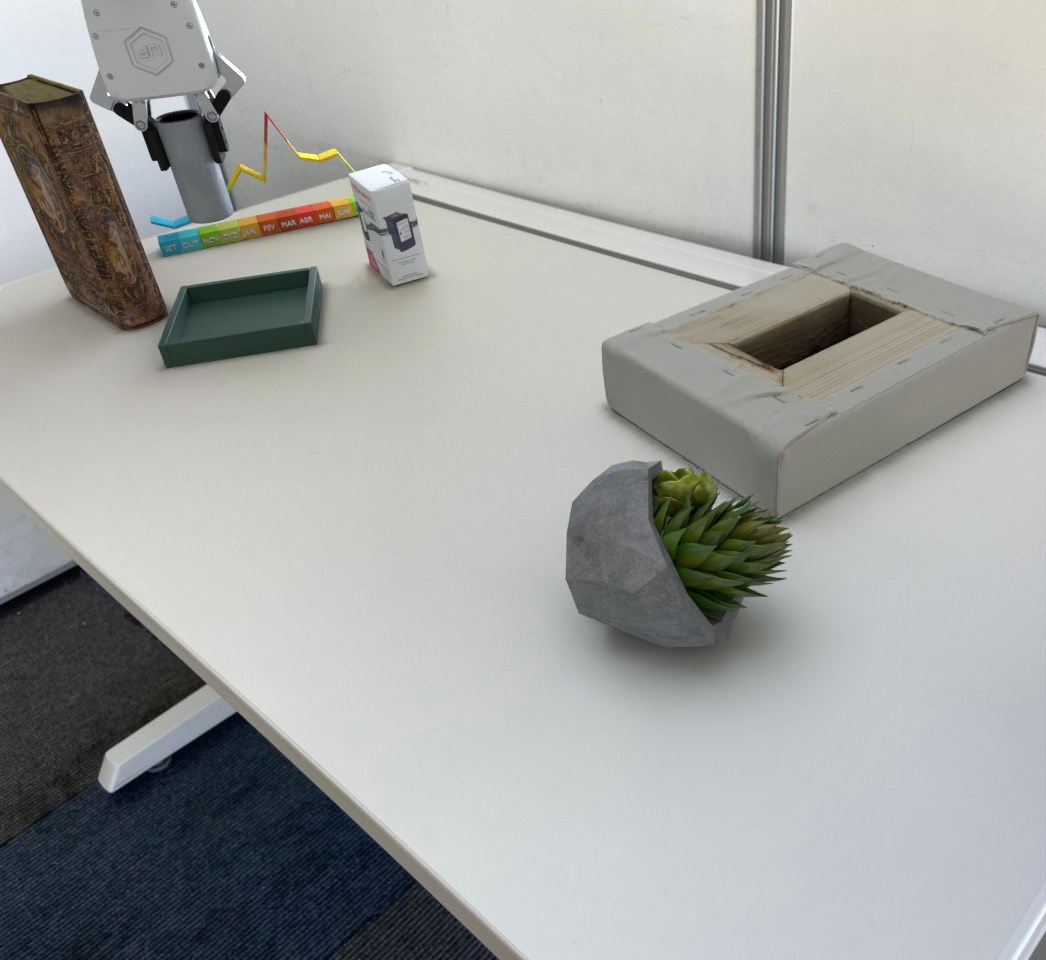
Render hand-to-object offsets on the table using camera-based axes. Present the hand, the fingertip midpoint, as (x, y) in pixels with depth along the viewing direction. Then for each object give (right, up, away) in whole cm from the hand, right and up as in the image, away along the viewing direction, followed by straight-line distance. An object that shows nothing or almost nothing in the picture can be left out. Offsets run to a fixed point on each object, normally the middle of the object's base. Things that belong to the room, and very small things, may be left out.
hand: (193, 161), depth 99 cm
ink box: (+16, -7, +21) cm, 27 cm away
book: (-17, -12, +18) cm, 27 cm away
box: (+62, -25, -9) cm, 67 cm away
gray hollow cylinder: (0, -5, +3) cm, 6 cm away
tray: (+1, -15, +11) cm, 18 cm away
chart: (-4, +2, +35) cm, 36 cm away
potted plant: (+48, -42, -31) cm, 71 cm away
